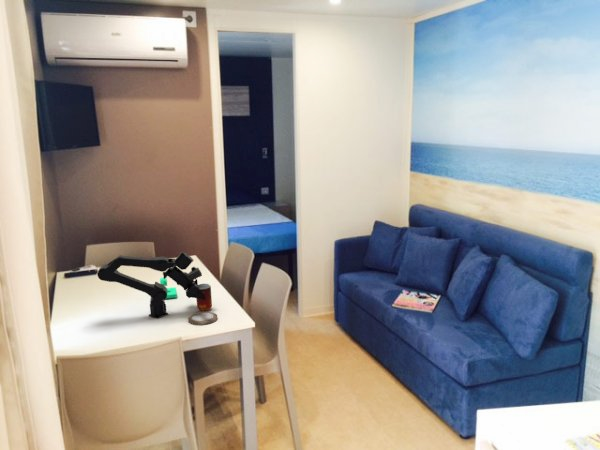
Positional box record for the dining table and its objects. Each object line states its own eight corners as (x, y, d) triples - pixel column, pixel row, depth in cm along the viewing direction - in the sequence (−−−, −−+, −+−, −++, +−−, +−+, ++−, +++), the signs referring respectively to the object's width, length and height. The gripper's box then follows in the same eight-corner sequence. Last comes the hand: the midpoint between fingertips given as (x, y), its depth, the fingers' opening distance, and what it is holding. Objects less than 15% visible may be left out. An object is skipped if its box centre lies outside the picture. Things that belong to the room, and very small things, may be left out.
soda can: (198, 307, 243) (196, 283, 240) (212, 306, 243) (211, 282, 241) (196, 313, 236) (194, 288, 234) (211, 312, 237) (210, 287, 234)
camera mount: (177, 299, 257) (175, 279, 255) (162, 300, 255) (160, 281, 253) (176, 291, 268) (174, 273, 266) (161, 293, 266) (159, 275, 264)
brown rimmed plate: (201, 327, 218) (201, 324, 218) (182, 321, 226) (182, 318, 226) (223, 318, 228) (223, 315, 228) (204, 312, 236) (204, 309, 236)
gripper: (191, 268, 225) (218, 289, 230) (189, 258, 243) (214, 278, 248) (175, 287, 225) (201, 308, 230) (174, 276, 242) (199, 295, 247)
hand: (204, 296), depth 239 cm, fingers open, 7 cm apart
